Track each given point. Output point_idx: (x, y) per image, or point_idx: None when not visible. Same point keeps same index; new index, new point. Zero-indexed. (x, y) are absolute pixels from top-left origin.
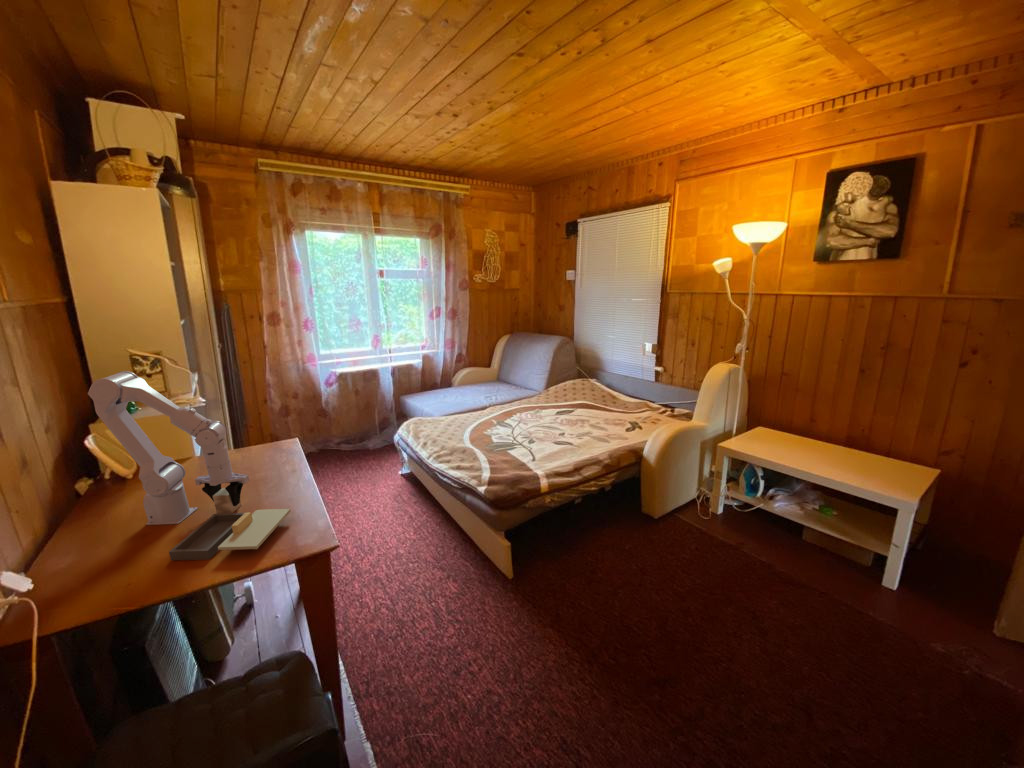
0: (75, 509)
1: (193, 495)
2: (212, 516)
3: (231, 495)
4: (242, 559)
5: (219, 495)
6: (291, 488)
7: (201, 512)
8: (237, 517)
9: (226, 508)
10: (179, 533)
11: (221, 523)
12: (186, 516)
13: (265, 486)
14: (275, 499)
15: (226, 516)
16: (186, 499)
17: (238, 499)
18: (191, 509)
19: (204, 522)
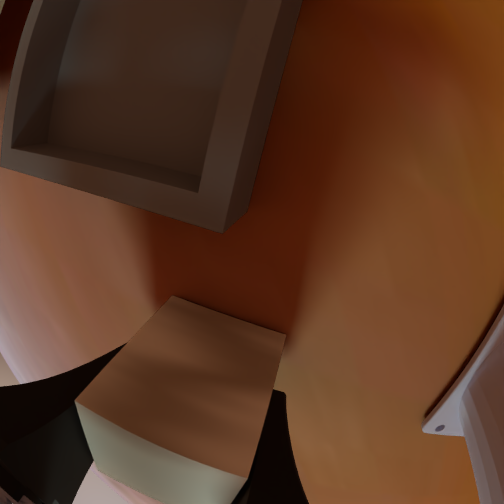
0: None
1: (432, 497)
2: (218, 174)
3: (64, 390)
4: None
5: (161, 448)
6: None
7: (401, 390)
8: (56, 151)
9: (185, 331)
10: (486, 135)
11: (169, 133)
12: (479, 355)
13: None
14: (45, 343)
15: (111, 167)
16: (484, 474)
17: None
18: (451, 420)
19: (257, 56)
